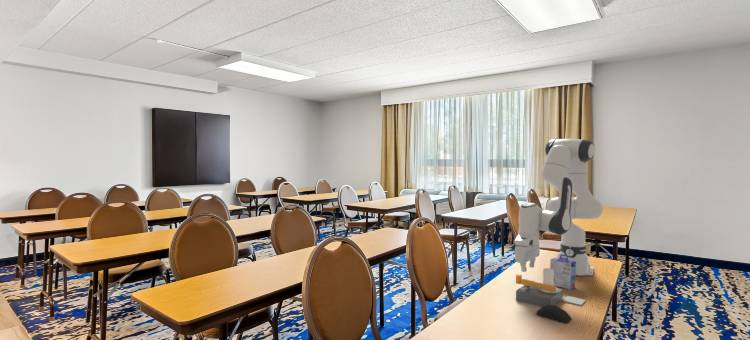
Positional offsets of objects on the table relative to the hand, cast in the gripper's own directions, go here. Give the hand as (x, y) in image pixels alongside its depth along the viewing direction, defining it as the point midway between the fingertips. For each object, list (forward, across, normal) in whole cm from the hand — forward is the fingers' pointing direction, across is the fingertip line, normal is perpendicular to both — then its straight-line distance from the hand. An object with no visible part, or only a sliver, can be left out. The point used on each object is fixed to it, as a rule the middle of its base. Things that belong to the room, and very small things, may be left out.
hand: (527, 269), depth 173 cm
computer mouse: (+10, +23, +18) cm, 31 cm away
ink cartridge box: (+9, -16, +10) cm, 21 cm away
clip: (+4, +10, +7) cm, 13 cm away
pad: (+9, +1, +20) cm, 22 cm away
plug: (+10, +7, +11) cm, 16 cm away
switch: (+10, +8, +8) cm, 15 cm away
